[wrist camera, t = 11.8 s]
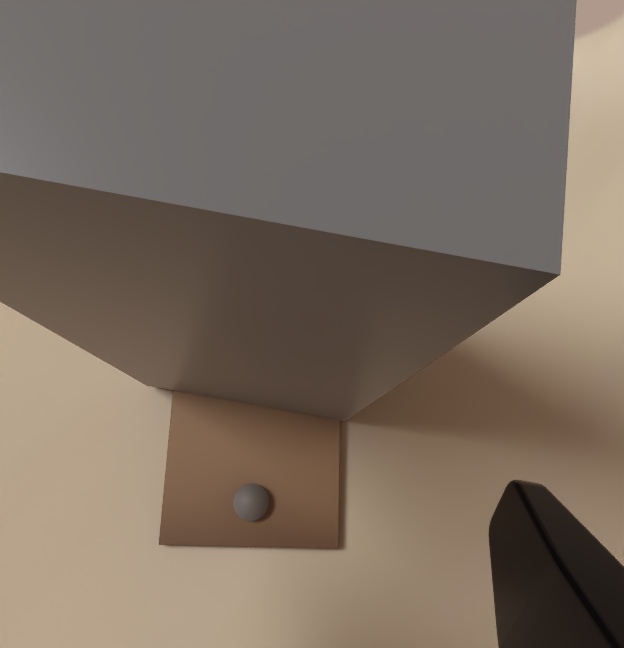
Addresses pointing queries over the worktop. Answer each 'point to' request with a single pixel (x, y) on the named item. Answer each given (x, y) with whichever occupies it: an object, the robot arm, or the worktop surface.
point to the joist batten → (249, 476)
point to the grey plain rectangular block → (280, 184)
